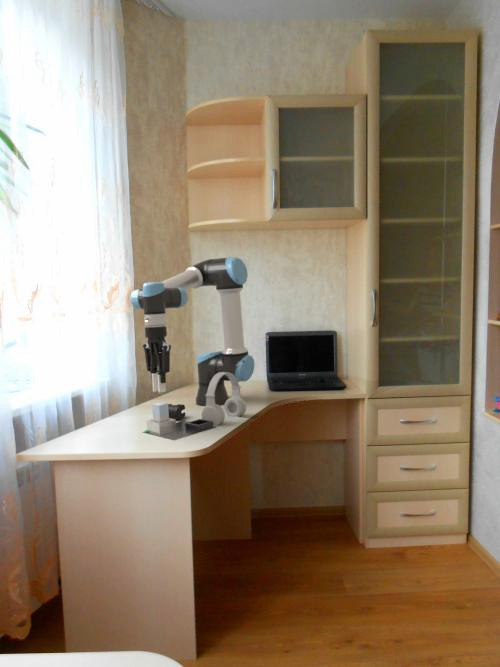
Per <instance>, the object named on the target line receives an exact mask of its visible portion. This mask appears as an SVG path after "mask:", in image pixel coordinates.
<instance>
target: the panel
mask: <svg viewBox="0 0 500 667" xmlns="http://www.w3.org/2000/svg"><path fill="white" fill-rule="evenodd" d="M216 428H217V426H213V421H208V420H203V419H202V418H198V419H194V420H191V421H189V420H184V419H183V420H180V421H177V422H176V419H171V418H169V421H165V422H161V423H158V422H153V418H152V419H150V420H149V419H148V420H146V430H144V431H142V432H141V433H143V434H147V435H149V436H150V435H151V436H154V437H158V438H163V439H167V440H171V441H177V440H180V439H183V438H187V437H190V436H192V435H196V434H199V433H202V432H206V431H209V430H212V429H216Z"/></svg>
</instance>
